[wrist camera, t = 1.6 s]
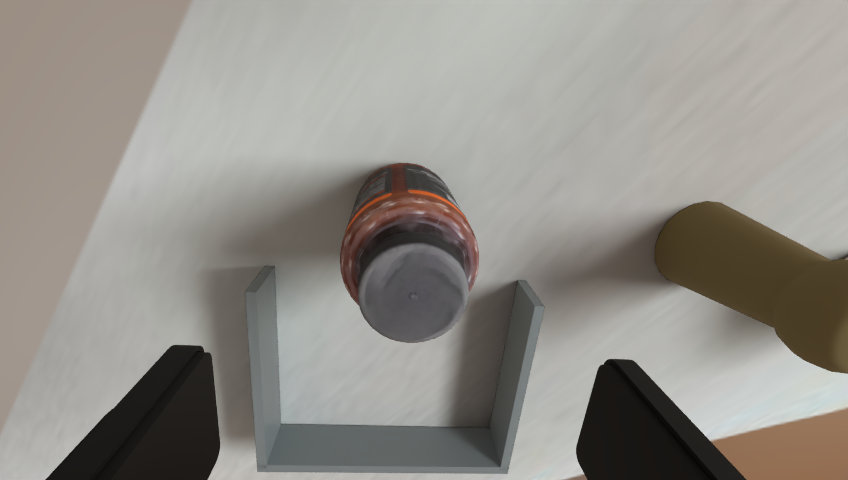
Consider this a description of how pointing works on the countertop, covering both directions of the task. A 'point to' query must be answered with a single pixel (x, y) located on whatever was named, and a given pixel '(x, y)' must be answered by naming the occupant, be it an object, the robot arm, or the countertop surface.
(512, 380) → the fence
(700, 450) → the robot arm
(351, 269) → the supplement bottle
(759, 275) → the cork
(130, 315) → the countertop surface
